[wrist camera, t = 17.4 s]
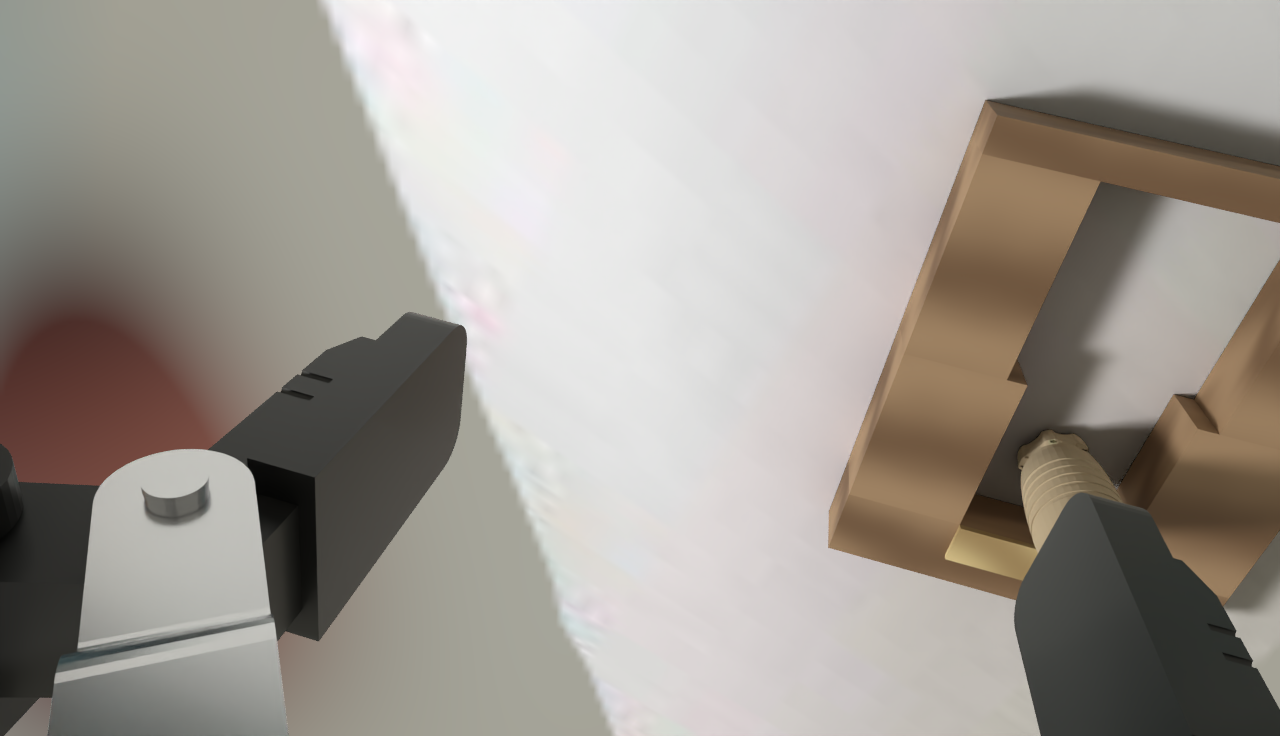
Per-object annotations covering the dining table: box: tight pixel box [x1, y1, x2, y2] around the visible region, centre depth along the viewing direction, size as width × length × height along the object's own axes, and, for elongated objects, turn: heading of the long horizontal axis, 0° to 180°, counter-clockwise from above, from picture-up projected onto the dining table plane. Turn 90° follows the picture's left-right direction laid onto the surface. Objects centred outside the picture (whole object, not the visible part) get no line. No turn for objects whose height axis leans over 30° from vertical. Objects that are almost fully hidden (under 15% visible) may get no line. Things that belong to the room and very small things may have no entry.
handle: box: [1018, 430, 1123, 553], centre depth 34 cm, size 5×6×15 cm
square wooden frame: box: [828, 100, 1280, 606], centre depth 37 cm, size 22×18×3 cm
